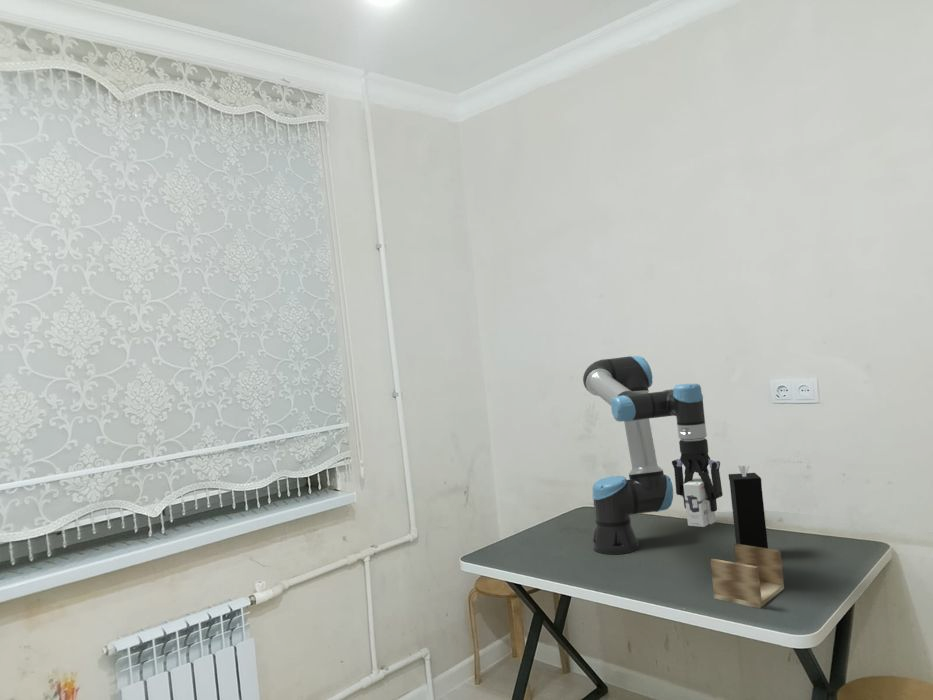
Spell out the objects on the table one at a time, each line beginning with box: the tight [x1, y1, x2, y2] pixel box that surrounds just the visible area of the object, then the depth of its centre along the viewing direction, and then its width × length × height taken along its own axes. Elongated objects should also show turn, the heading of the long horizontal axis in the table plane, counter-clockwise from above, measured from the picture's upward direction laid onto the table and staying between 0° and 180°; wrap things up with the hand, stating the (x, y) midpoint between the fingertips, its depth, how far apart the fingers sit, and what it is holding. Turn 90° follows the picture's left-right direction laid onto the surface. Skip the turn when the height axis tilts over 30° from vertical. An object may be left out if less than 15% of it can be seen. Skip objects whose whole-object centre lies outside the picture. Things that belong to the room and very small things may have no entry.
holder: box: [709, 543, 785, 609], centre depth 171 cm, size 12×15×10 cm
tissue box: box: [728, 465, 769, 549], centre depth 198 cm, size 8×8×28 cm
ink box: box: [683, 477, 712, 528], centre depth 181 cm, size 8×5×12 cm, turn 139°
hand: (702, 521), depth 181 cm, fingers closed on ink box, 5 cm apart
